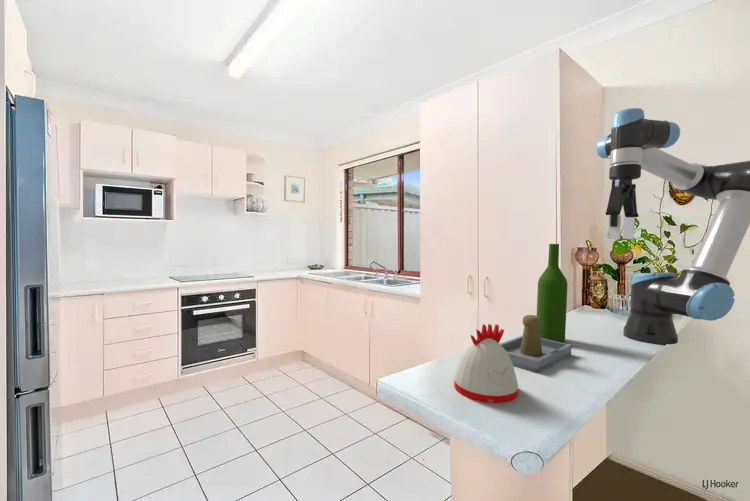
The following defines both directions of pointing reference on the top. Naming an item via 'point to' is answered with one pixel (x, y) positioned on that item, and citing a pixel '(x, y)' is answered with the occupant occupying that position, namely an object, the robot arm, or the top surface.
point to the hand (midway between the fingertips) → (621, 238)
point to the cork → (531, 336)
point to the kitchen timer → (486, 369)
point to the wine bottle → (552, 299)
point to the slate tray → (550, 356)
